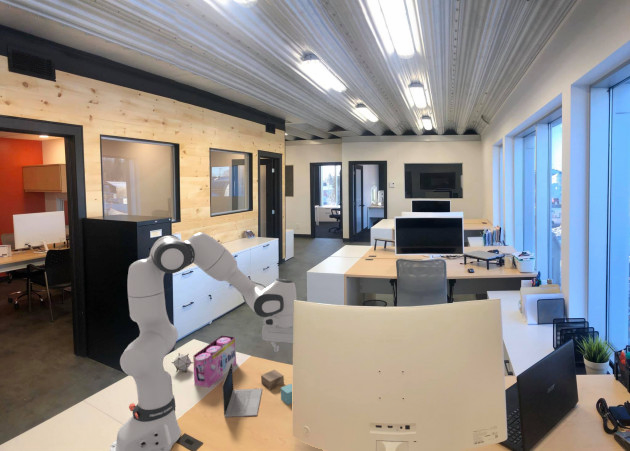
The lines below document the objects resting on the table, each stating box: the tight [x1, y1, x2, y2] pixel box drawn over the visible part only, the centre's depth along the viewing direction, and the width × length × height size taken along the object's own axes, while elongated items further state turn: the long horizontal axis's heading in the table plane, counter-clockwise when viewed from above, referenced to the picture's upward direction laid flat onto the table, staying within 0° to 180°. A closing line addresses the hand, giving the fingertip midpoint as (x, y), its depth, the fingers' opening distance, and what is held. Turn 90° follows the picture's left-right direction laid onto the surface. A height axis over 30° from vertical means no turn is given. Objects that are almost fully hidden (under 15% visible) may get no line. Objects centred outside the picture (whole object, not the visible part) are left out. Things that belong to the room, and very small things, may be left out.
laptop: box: [221, 363, 263, 418], centre depth 153 cm, size 18×12×13 cm
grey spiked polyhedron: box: [171, 353, 194, 373], centre depth 180 cm, size 9×8×10 cm
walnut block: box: [260, 369, 285, 390], centre depth 167 cm, size 7×7×4 cm
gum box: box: [192, 335, 237, 388], centre depth 176 cm, size 24×8×14 cm, turn 160°
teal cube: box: [280, 383, 293, 406], centre depth 155 cm, size 5×5×5 cm
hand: (287, 352), depth 152 cm, fingers open, 8 cm apart
